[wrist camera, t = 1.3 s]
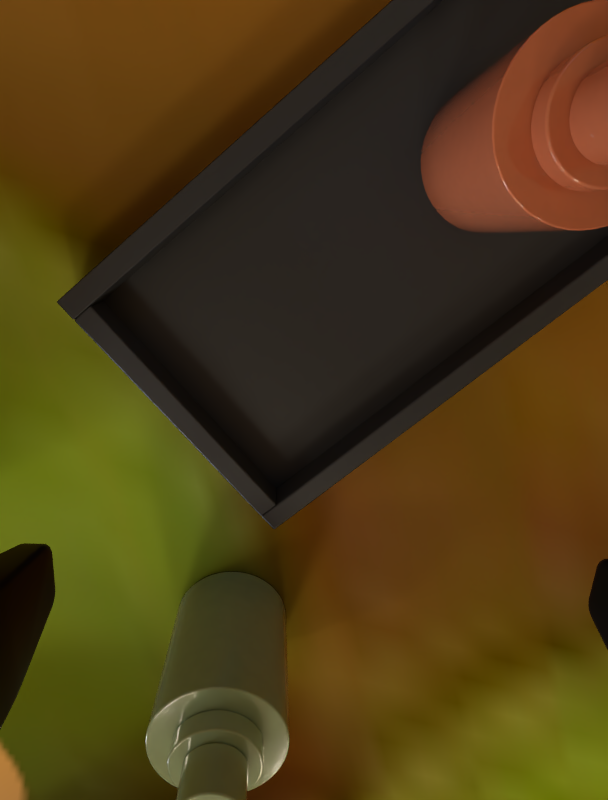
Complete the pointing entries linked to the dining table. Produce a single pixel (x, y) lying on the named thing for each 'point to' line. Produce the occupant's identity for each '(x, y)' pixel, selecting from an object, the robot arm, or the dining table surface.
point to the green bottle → (223, 691)
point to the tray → (332, 267)
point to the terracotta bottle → (528, 134)
